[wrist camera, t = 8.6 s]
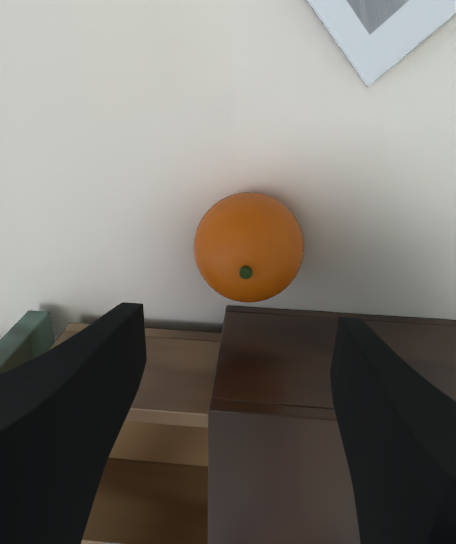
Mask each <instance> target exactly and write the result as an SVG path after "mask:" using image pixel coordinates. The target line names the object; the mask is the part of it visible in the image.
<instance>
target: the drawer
mask: <svg viewBox="0 0 456 544" xmlns="http://www.w3.org/2000/svg"><path fill="white" fill-rule="evenodd" d="M88 325H90V324H80V323H69V324H68V326H67V327H66V328H65V330H64V332H62V334H61V335H60V336H59V338H58V339H57V340H56V342H55V340H54V334H53V329H52V323H51V318H50V313H49V312H47V311H32V310H30V311H28V312H27V313H26V314H25V315H24V316H23V317H22V318H21V319H20V320H19V321H18V322H17V323H16V324H15V325H14V326H13V327H12V328H11V329H10V330H9V331H8V332H7V333H6V334H5V335H4V336H3V338H2V339H1V340H0V374H1V373H4V372H6V371H9V370H11V369H13V368H15V367H18V366H20V365H22V364H24V363H26V362H28V361H30V360H32V359H34V358H36V357H38V356H39V355H41V354H43V353H45V352H47V351H49V350H50V349H52V348H54V347H55V346H57V345H59V344H60V343H62V342H63V341H65V340H67V339H68V338H70V337H72V336H73V335H75V334H77V333H78V332H80V331H81V330H83V329H84V328H86V327H87V326H88ZM221 334H222V333H211V332H196V331H182V330H167V329H153V328H145V340H146V354H147V361H146V365H145V369H144V372H143V376H142V379H141V383H140V386H139V389H138V392H137V394H136V396H135V399H134V401H133V403H132V405H131V408H130V410H129V412H128V414H127V417H126V419H125V421H124V423H123V426H122V428H121V430H120V432H119V435H118V437H117V439H116V441H115V444H114V446H113V448H112V450H111V453H110V455H109V458H108V460H107V463H106V465H105V468H104V471H103V474H102V477H101V480H100V483H99V486H98V489H97V493H96V496H95V499H94V502H93V505H92V508H91V512H90V515H89V518H88V522H87V525H86V528H85V531H84V535H83V538H82V542H81V544H105V543H119V544H208V408H209V402H210V396H211V391H212V385H213V380H214V374H215V368H216V363H217V357H218V351H219V346H220V340H221Z"/></svg>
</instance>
